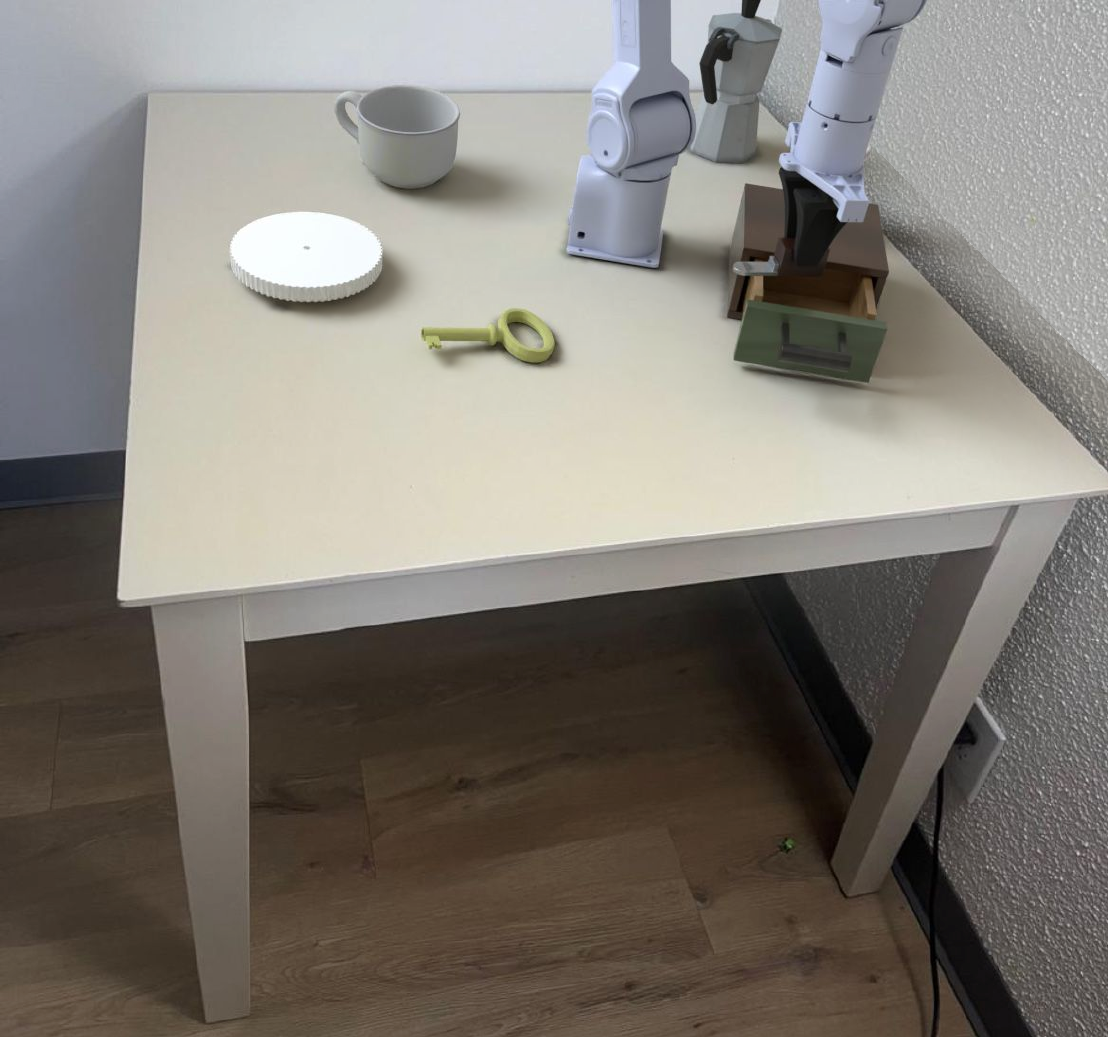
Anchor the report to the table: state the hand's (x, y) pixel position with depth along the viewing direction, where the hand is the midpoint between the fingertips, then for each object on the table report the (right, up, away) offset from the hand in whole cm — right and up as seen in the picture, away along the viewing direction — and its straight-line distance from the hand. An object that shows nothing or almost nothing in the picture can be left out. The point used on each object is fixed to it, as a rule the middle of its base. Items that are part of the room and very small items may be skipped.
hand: (800, 256), depth 104 cm
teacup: (-39, +15, +25) cm, 49 cm away
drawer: (+1, -7, +5) cm, 9 cm away
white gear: (-45, 0, +8) cm, 46 cm away
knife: (-2, -1, +1) cm, 2 cm away
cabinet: (+2, 0, +14) cm, 15 cm away
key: (-28, -8, +2) cm, 29 cm away
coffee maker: (-2, +21, +38) cm, 43 cm away
